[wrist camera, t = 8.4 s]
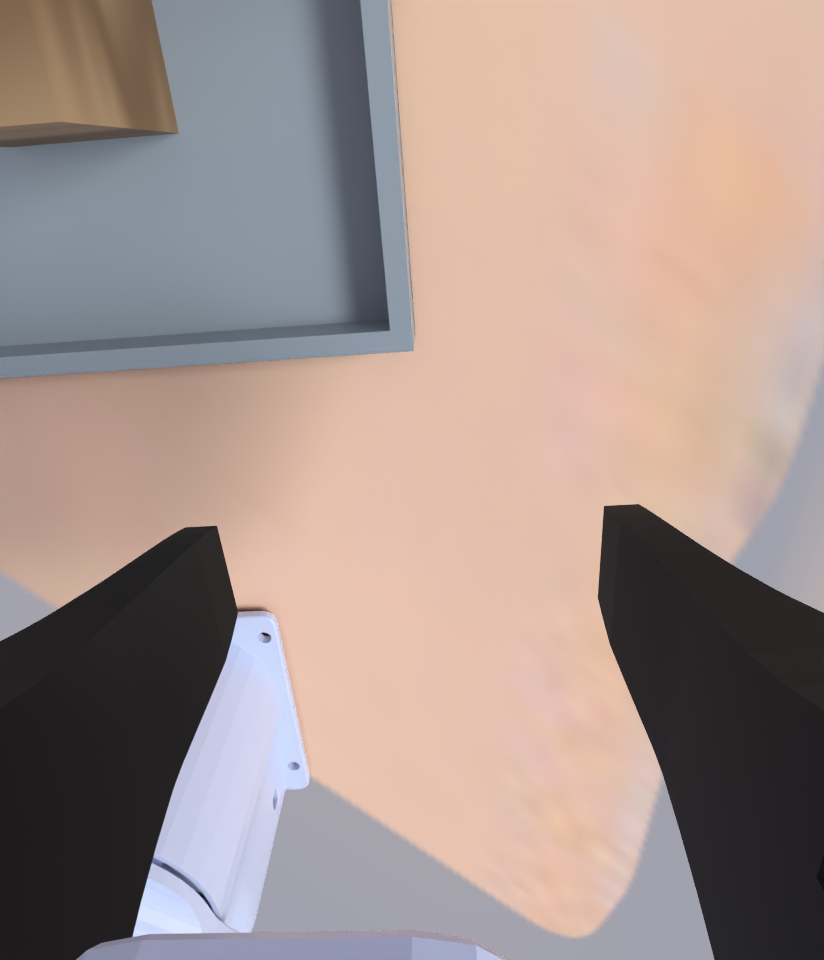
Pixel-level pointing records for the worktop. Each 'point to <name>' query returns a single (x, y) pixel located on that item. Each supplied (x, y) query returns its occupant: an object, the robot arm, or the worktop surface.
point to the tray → (221, 205)
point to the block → (81, 72)
